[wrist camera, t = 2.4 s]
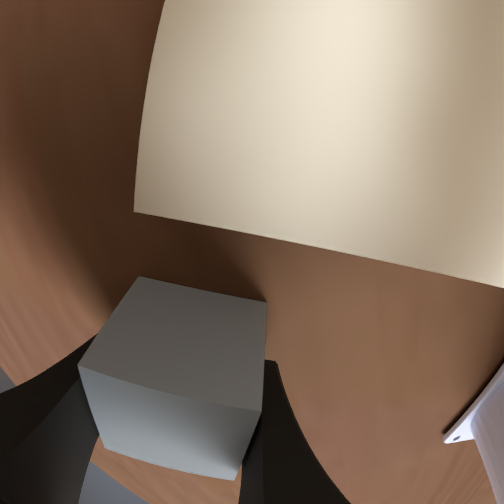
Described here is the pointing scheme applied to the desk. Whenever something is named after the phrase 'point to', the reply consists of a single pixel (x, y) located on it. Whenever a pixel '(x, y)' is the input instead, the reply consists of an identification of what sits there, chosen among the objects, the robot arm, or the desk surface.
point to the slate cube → (178, 377)
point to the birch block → (333, 126)
